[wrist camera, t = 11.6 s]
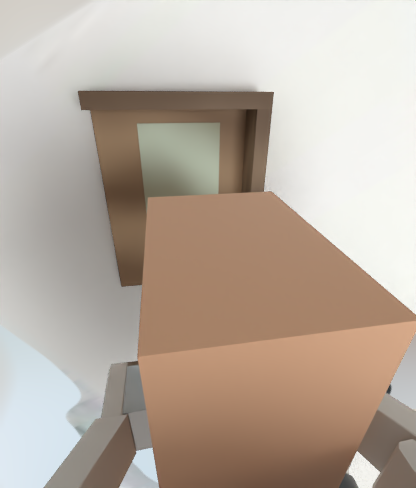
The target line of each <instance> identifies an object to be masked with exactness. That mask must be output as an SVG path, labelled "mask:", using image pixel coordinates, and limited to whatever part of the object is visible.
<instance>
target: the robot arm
mask: <svg viewBox="0 0 416 488" xmlns="http://www.w3.org/2000/svg"><path fill="white" fill-rule="evenodd" d="M146 448H152V441H151V435H150V429H149V423H148V417H147V411H146V405H145V399H144V393H143V387H142V381H141V375H140V369H139V363H138V361H134V362H126V363H118V364H111V366H110V369H109V373H108V379H107V385H106V391H105V397H104V403H103V409H102V415H101V418H99V419H95V421H94V422H93V423H92V425H91V426H90V427H89V428H88V430H87V431H86V432H85V434H84V435H83V436H82V438H81V439H80V440H79V442H78V443H77V444H76V446H75V447H74V448H73V450H72V451H71V452H70V454H69V455H68V456H67V458H66V459H65V460H64V461H63V463H62V464H61V466H60V467H59V468H58V469H57V471H56V472H55V474H54V475H53V476H52V477H51V479H50V480H49V481H48V483H47V484H46V485H45V487H44V488H119V486H120V484H121V482H122V480H123V478H124V476H125V474H126V472H127V470H128V468H129V466H130V464H131V462H132V460H133V458H134V456H135V454H136V451H137V450H142V449H146ZM357 451H358V452H359V453H360V454H361V455H362V456H363V457H365V458H366V459H367V460H368V461H369V462H370V463H371V464H372V465H373V466H374V467H375V468H376V469H377V470H379V471H380V472H381V473H380V474H379V476H378V478H377V479H376V481H375V482H374V484H373V487H372V488H416V411H414V410H412V409H411V408H409V407H408V406H406V405H404V404H403V403H401V402H400V401H398V400H396V399H395V398H393V397H392V396H390V395H389V394H387V393H385V395H384V397H383V399H382V401H381V403H380V405H379V407H378V409H377V411H376V413H375V415H374V417H373V419H372V421H371V423H370V425H369V427H368V429H367V431H366V433H365V435H364V437H363V439H362V441H361V443H360V446H359V448H358V450H357ZM350 465H351V464H350ZM349 467H350V466H349ZM339 488H358V486H357V484H356V482H355V480H354V478H353V477H352V476H351V475H349V468H348V470H347V472H346V474H345V476H344V478H343V480H342V482H341V484H340V486H339Z"/></svg>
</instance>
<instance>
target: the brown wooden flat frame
mask: <svg viewBox="0 0 416 488" xmlns="http://www.w3.org/2000/svg"><path fill="white" fill-rule="evenodd" d="M78 95H79V100H80V105H81V110H90V111H91V117H92V122H93V128H94V134H95V139H96V145H97V151H98V156H99V162H100V168H101V173H102V179H103V184H104V190H105V196H106V201H107V207H108V213H109V218H110V224H111V230H112V235H113V241H114V246H115V252H116V258H117V263H118V269H119V275H120V280H121V286H122V287H123V286H134V285H142V280H143V265H144V250H145V235H146V219H147V204H148V197H167V196H187V195H208V194H229V193H249V192H264V183H265V173H266V163H267V154H268V144H269V134H270V124H271V114H272V104H273V95H274V92H185V91H78Z"/></svg>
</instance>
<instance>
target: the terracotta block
mask: <svg viewBox="0 0 416 488" xmlns="http://www.w3.org/2000/svg"><path fill="white" fill-rule="evenodd" d="M415 332H416V315H415V314H414V313H413V312H412V311H411V310H409V309H408V308H407V307H406V306H405V305H404V304H402V303H401V302H400V301H399V300H398V299H397V298H395V297H394V296H393V295H392V294H391V293H390V292H388V291H387V290H386V289H385V288H384V287H383V286H381V285H380V284H379V283H378V282H377V281H376V280H374V279H373V278H372V277H371V276H370V275H369V274H367V273H366V272H365V271H364V270H363V269H361V268H360V267H359V266H358V265H357V264H356V263H354V262H353V261H352V260H351V259H350V258H349V257H347V256H346V255H345V254H344V253H343V252H342V251H340V250H339V249H338V248H337V247H336V246H335V245H333V244H332V243H331V242H330V241H329V240H328V239H326V238H325V237H324V236H323V235H322V234H321V233H319V232H318V231H317V230H316V229H315V228H313V227H312V226H311V225H310V224H309V223H308V222H306V221H305V220H304V219H303V218H302V217H301V216H299V215H298V214H297V213H296V212H295V211H294V210H292V209H291V208H290V207H289V206H288V205H287V204H285V203H284V202H283V201H282V200H281V199H280V198H278V197H277V196H276V195H275V194H274V193H272V192H271V191H270V192H249V193H229V194H208V195H187V196H167V197H148V204H147V219H146V235H145V250H144V265H143V280H142V295H141V310H140V326H139V341H138V356H137V357H138V363H139V369H140V375H141V381H142V387H143V393H144V399H145V405H146V411H147V417H148V423H149V429H150V435H151V441H152V447H153V453H154V459H155V465H156V471H157V477H158V482H159V488H339V486H340V484H341V482H342V480H343V478H344V476H345V474H346V472H347V470H348V468H349V466H350V464H351V462H352V460H353V458H354V456H355V454H356V452H357V450H358V448H359V446H360V443H361V441H362V439H363V437H364V435H365V433H366V431H367V429H368V427H369V425H370V423H371V421H372V419H373V417H374V415H375V413H376V411H377V409H378V407H379V405H380V403H381V401H382V399H383V397H384V395H385V393H386V391H387V389H388V387H389V385H390V383H391V381H392V379H393V377H394V375H395V373H396V371H397V369H398V367H399V365H400V363H401V360H402V359H403V357H404V355H405V353H406V351H407V348H408V347H409V345H410V343H411V340H412V338H413V336H414V334H415Z"/></svg>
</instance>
